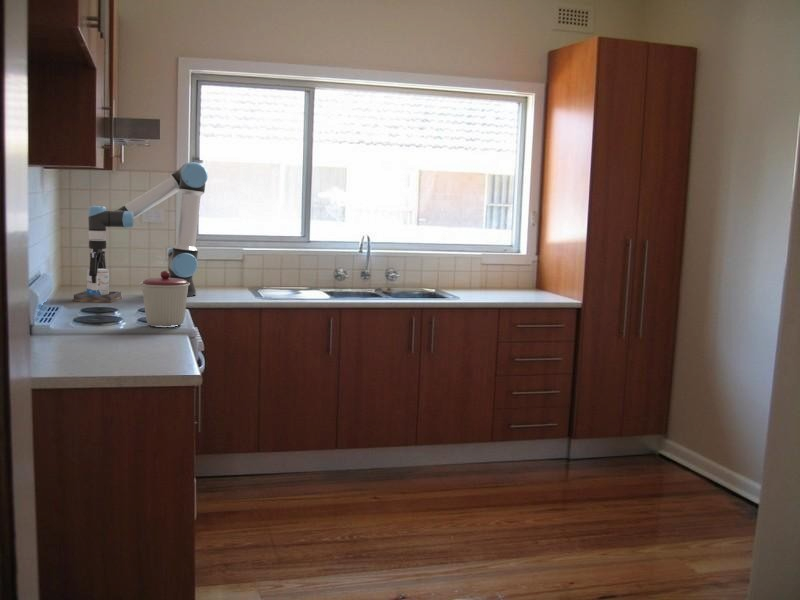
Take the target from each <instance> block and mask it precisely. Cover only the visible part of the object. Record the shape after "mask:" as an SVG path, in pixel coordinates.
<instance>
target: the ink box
mask: <svg viewBox="0 0 800 600" xmlns="http://www.w3.org/2000/svg"><path fill="white" fill-rule="evenodd" d="M89 271H90V268H88V269H86V291H87V295H106V294H109V291H110V287H109V286H110V269H107V268H106V269H98V271H97V276H98V290H91V276H89Z"/></svg>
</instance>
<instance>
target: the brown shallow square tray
mask: <svg viewBox="0 0 800 600" xmlns="http://www.w3.org/2000/svg"><path fill="white" fill-rule="evenodd" d="M121 299H123V295H122V291H115V290H114V291H113V290H111V291H110V290H109V294H106V295H87V290H84V291H81V292H77V293H74V294H73V298H72V302H76V301H80V302H83V303H84V302H86V303H109V304H110V303H114V302H115V301H118V300H121ZM80 302H79V303H80Z"/></svg>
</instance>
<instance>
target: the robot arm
mask: <svg viewBox="0 0 800 600" xmlns="http://www.w3.org/2000/svg"><path fill="white" fill-rule="evenodd" d="M208 177H209V175H208V171H207V169H206V168H205V166H204V165H203V164H201V162H197V161H190V162H187V163H184V164H183V165H181V167H179V169H177V170H176V171H175V172H173V173H172V174H170V175H169V178H167V179H165V180H163V181H162V182H161V183H159V184H157V185H156V186H153V188H151V189H149V190H148V191H146V192H144V193H143V194H140V195H139V196H138V197H136V198H134V199H133V200H131V201H129V202H127V203H126V204H124V205H123V206H121V207H119V208H117V209H115V210H107V208H106V206H104V205H103V206H101V205H90V206H89V207H88V217H87V218H88V232H87V235H88V239H89V241H88V248H89V249H90V250H92V252H90V253H89V269H90V271H89V276H91V290H98V276H97V271H98V269H107V266H106V251H105V249H107V228H125V229H126V228H133V227H134V222H135V221H134V219H136V218H137V217H140V216H141V215H142V214H144V213H146V212H147V211H149V210H150V209H152V208H154V207H155V206H157V205H159V204H160V203H162V202H164V201H166V200H167V199H169V198H170V197H172V196H174V195H175V194H177V193H181V201H180V210H179V220H178V227H177V238H176V244H175V245H174V246H173V247H172V248H169V249H168V250H167V271H168V272H170V277H169V278H178V279H184V280H186V281H187V282H188V283H190V285H189V286H188V293H187V296H189V297H194V296H193V295H195V296H197V290H196V286H195V283H194V281H193V279H194V278H193V275H194V274H195V273H196V272H197V270H198V266H199V264H198V253H199V250H198V248H197V247H196V243H197V242H196V241H197V232H198V226H199V225H198V224H199V223H198V222H199V216H200V215H199V213H200V208H201V207H200V206H201V205H200V204H201V197H202V195H203V194H205V190H206V183H207V181H208Z"/></svg>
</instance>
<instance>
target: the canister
mask: <svg viewBox="0 0 800 600" xmlns="http://www.w3.org/2000/svg"><path fill="white" fill-rule="evenodd" d="M169 277H170V272H168V270H162V271H161V272H160V277H153V278H146V279H144V280H143V281H141V282H140V283H139V284H140V285H141V287H142V288H141V289H142V295H143V296H142V297H143V298H142V299H143V306H144V312H145V313H144V314H145V320H146V322H147V324H148V325H149V326H150V325H162V326H171V325H180V326H182V325H183V323H184V320H185V314H186V308H187V300H188V297H187V293H188V286H189V285H190V283H188V282H187V281H186V280H184V279H178V278H169ZM181 324H182V325H181Z"/></svg>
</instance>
